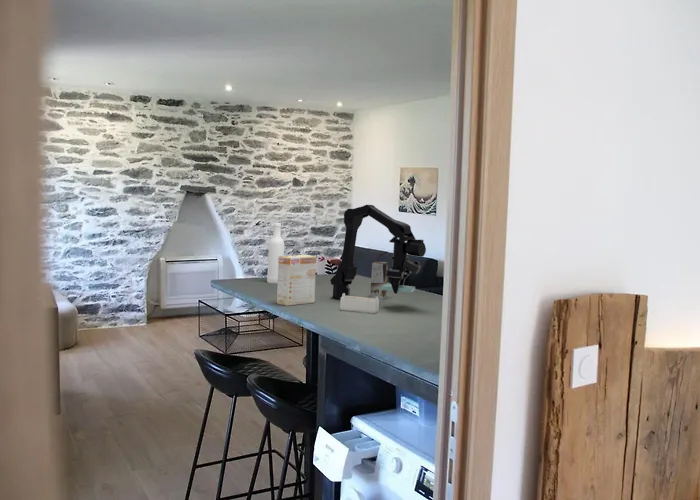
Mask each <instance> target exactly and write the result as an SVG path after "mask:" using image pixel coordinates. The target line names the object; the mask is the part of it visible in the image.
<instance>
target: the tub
mask: <svg viewBox="0 0 700 500" xmlns="http://www.w3.org/2000/svg"><path fill="white" fill-rule="evenodd" d="M339 303H340V304H339V305H340V307H339V308H340V309H339V310H340V311H343V310H344V311H346V312H352V311H353V313H361V312H363V313H364V314H372V315H375V314H377V313H378V312H379V308H380V307H379V306H380V305H379V303H380V299H378V297H375V298H370V297H365V296H354V295H353V296H352V295H350V296H345V293H343V294H342V297H341V299H340V302H339ZM363 313H362V314H363Z"/></svg>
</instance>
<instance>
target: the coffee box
mask: <svg viewBox="0 0 700 500" xmlns="http://www.w3.org/2000/svg"><path fill="white" fill-rule="evenodd" d="M371 265H372V266H371V277H370V294H369V295H370V297H369V298H375V297H378V299H379V300H383V301H384V300H385V299H386V298H387V294H388V293H387V292H388V290H381V287H382V286H383V285H385V284H388V276H386V274H387V271H388V270H389V262H388V261H374V262H372V263H371Z"/></svg>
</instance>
